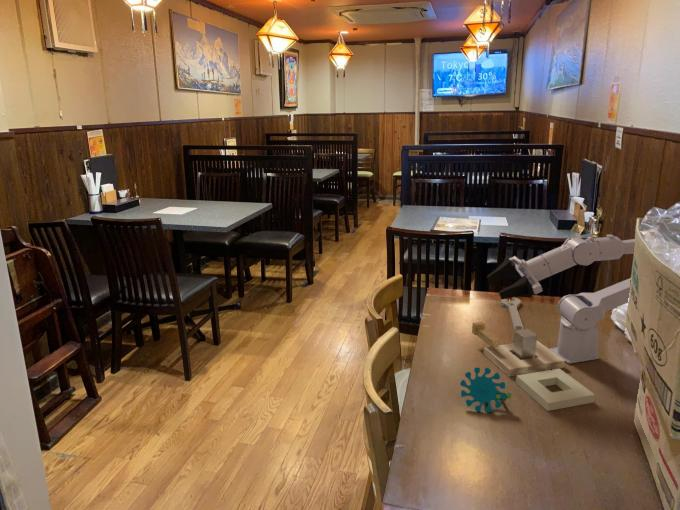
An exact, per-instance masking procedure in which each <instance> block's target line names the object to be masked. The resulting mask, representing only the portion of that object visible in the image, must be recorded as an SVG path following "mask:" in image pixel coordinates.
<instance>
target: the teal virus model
mask: <svg viewBox="0 0 680 510" xmlns="http://www.w3.org/2000/svg"><path fill="white" fill-rule="evenodd" d="M473 372H474V373H475V378H474V379H473V378H471V377H472V373H471V372H470V371H468V372H465V373H464V376H465V378H467V379H468V380H469V383H470V384H469V385H468V384H467V381H466V380H465V379H462V380H461V381H460V383H459V385H460V386H461V387H464V388H466V389H468V391H469V392H466V390H463V389H461V390H460V396H461V397H462V398H465V397H467V396H468V397H472V398H473V399H472V400H471V399H466V400H465V403H466V406H467V407H471V406H472V404H474V403H476V402H477V403H478V402H479V405H476V406H475V407H474V410H475V412H477V413H480V412H482V406H483V405H484V404H487V406H486V408H485V412H486V413H492V412H493V408H492V406H491V402H492V401H493V400H494V401H495V404H494V405H495V406H494V407H495V408H496V409H498V408H501V407H502V403H503V402H506V401H507V399H512V396H513V395H512V393H511V392H507V393H505V392H502V391H499V389H497V387H499V388H500V389H502V390H504V389H506V382H504V381H502V382H495V381H493V380H499V379H500V378H501V376H500V375H501V374H499V373H498V372H495V373H494V375H492V376H490V377H487V375H489V374H491V372H492V370H491V369H490V368H489V367H485V368H484V373H483V374H482V375H481V376H479V375H478V374H480V372H481V368H480V367H474V368H473Z"/></svg>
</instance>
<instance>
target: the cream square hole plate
mask: <svg viewBox="0 0 680 510" xmlns="http://www.w3.org/2000/svg"><path fill="white" fill-rule="evenodd" d="M515 384H517V386H519V387H520V388H521V389H522V390H523V391H524V392H525V393H526V394H528V395H529V396H530V397H531V398H532V399H533V400H534V401H535V402H536V403H538V404H539V405H540V406H542V408H543V409H544V410H546V411H547V412H548V411H549V412H550V411H554V410H559V409H565V408H571V407H576V406H581V405H587V404H588V405H589V404H593V403H595V398H596V397H595V396H596V395H595V393H593V392H592V391H591V390H589V389H588V388H587V387H586V386H584V385H583V384H582V383H580V382H579V381H577V380H576V379H575V378H573V377H572V376H571V375H569V374H568V373H567V372H565V371H564V370H562V368H558V369H552V370H546V371H540V372H534V373H528V374H522V375H515ZM555 385H556V386H557V387H558V388H560V391H554V392H552V391H551V390H550V389H548V388H547V387H549V386H555Z"/></svg>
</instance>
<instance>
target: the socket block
mask: <svg viewBox="0 0 680 510" xmlns="http://www.w3.org/2000/svg"><path fill="white" fill-rule="evenodd" d="M512 350H513V342H512V343H507V344H506V343H505V344H499V347H495V348H492V347H490V346H486V347H483V355H484V356H485V357H486V358H487V359H488V360H489V361H490V362H492V363H493V364H494V365H495V366H496V367H497V368H498V369H500V370H501V371H502V372H503V373H504V374H505V375H506V376H507V377H516V376H517V375H523V374H529V373H535V372H541V371H547V370H551V369H552V370H553V369H559V368H560V369H563V368H565V365H566V362H565V360H564V359H562V358H561V357H560V356H558V355H557V354H555V353H554V352H553V351H551V350H550V348H548V347H547V346H546V345H545V344H542V343H541V342H540V341H538V340H537V343H536V351H535V358H531V359H524V360H520V359H519V358H517V357H516V356H515V355H514V354H512Z"/></svg>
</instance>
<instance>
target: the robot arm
mask: <svg viewBox="0 0 680 510" xmlns="http://www.w3.org/2000/svg"><path fill="white" fill-rule="evenodd" d="M635 239H636V238H633V239H625V240H622V239H620V238H619V237H618V236H615V235H613V234H606V236H604V237H592V236H588V237H586V239H583V238H581V237H577V236H576V237H568V238H567V239H565V241H564V242H563V244H561V246H558V247H556V248H553V249H551V250H549V251H547V252H544V253H542V254H540V255H538V256H537V255H536V256H535V257H533V258H530V259H528V260H525V259H519V258H518V257H517V256H516V255H514V256H512V257H506V258H504V260H503V261H502V263H501V264H500V265H499V266H498V267H497V268H496V269H494V270H493V271H492V272H490V273H489V274H488V275H487V276H486V278H487V280H488V283H490V284H492V283H493V284H494V283H496V282H498V281H502V280H505V279H510V278H512V279H513V278H517V277H518V276H517V273H518V274H519V276H520V278H519V279H518V280H517V281H516V282H514V283H513V284H511V285H509V286H506V287H505V288H503V289H502V290H500V291H499V292H498V294H499V297H500V299H501V300H502V299H506V300H508V299H512V298H528V299H529V298H532V297H533V294H534V295H538V294H539V293H541V292H543V287H542V285H541V284H540V281H542V280H545V279H546V278H549V277H551V276H553V275H556V274H558V273H560V272H563V271H565V270H567V269H570V268H572V267H574V266H577V265H581V266H585V267H586V266H589V265H592V264H593V263H594V262H599V261H600V262H601V261H611V260H612V261H613V260H614V261H615V260H619V259H620V258H621V257H623V255H631V254H633V255H634V244H635ZM631 278H632V277H630V278H627V279H625V280H624V279H623V280H622V281H620V282H617V283H615V284H613V285H610V286H608V287H605V288H602V289H600V290H598V291H595V292H580V293H577V294H567V295H564V296H563V297H561V298H560V299H559V301H558V303H557V311H558V313H559V314H560V324H559V330H558V340H557V345H556V346H557V347H551V348H549V349H550V350H551V351H553V352H554V353H555V354H557V355H558V356H560V357H561V358H562V359H564V360H565V363H567V364H575V363H582V362H588V361H593V360H599V358H600V357H599V356H598V349H599V343H600V336H601V335H600V330H599V327H597V323H600V322H601V321H603V320H605V316H606V315H605V314H606V312H608V311H611V310H614V309H615V308H619V307H621V306H623V305H626V304H628V303H629V302H628V298H629V290H630V280H631Z"/></svg>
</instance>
